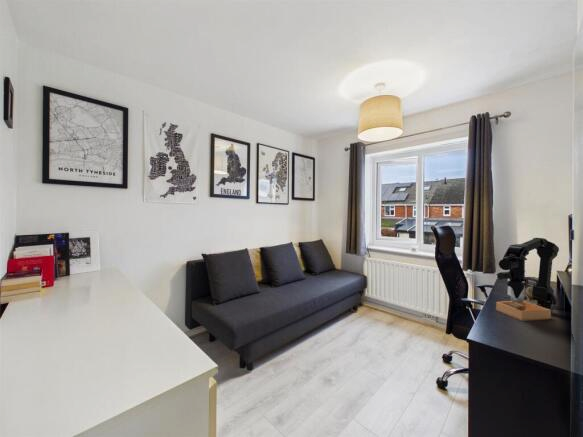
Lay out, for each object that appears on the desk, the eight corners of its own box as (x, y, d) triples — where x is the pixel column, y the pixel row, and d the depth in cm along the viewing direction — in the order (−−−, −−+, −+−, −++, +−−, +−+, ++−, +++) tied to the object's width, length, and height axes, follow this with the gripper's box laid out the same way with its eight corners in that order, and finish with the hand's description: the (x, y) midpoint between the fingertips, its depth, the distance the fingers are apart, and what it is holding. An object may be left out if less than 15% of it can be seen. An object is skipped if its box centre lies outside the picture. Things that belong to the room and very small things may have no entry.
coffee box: (523, 301, 157) (524, 276, 157) (532, 301, 158) (533, 276, 157) (539, 306, 148) (539, 280, 148) (548, 306, 149) (549, 280, 148)
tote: (522, 308, 145) (523, 300, 145) (550, 319, 131) (550, 309, 131) (496, 310, 142) (496, 301, 142) (521, 320, 128) (522, 311, 128)
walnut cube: (515, 311, 139) (515, 302, 139) (524, 315, 134) (525, 306, 134) (507, 311, 138) (508, 303, 138) (516, 315, 133) (517, 306, 133)
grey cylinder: (510, 299, 136) (510, 286, 136) (523, 301, 133) (523, 288, 133) (511, 301, 132) (511, 289, 132) (523, 303, 129) (524, 290, 129)
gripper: (500, 263, 144) (500, 289, 145) (495, 268, 132) (494, 297, 132) (527, 266, 136) (526, 294, 136) (523, 272, 123) (523, 302, 124)
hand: (517, 296), depth 132 cm, fingers closed on grey cylinder, 5 cm apart
